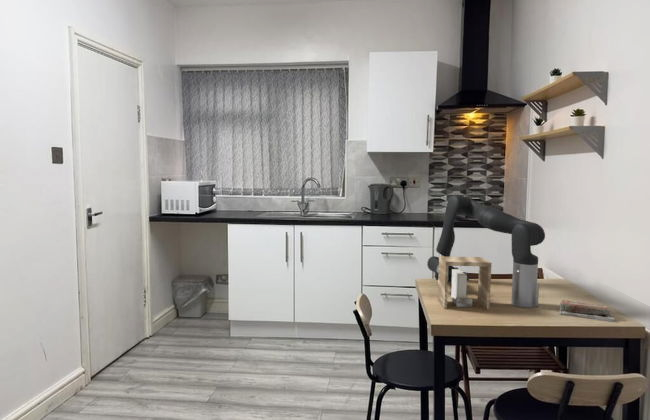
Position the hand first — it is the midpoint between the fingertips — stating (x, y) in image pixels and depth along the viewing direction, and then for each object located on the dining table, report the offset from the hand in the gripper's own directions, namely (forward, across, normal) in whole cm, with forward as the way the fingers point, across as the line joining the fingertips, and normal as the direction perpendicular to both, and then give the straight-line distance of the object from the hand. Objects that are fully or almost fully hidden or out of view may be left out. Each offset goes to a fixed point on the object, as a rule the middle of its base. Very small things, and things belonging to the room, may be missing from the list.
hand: (455, 279), depth 204 cm
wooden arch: (+12, 0, +8) cm, 15 cm away
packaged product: (+23, +44, +8) cm, 50 cm away
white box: (+6, 0, +8) cm, 10 cm away
